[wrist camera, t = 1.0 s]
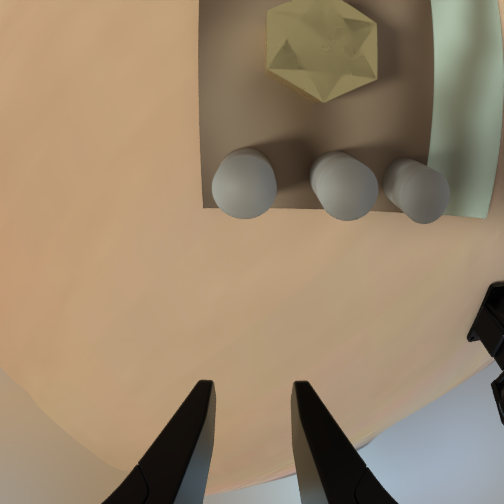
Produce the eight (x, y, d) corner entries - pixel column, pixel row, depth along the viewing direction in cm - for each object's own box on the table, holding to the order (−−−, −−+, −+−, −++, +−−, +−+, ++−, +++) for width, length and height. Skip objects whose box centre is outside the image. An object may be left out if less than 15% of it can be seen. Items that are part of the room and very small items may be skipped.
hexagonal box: (356, 12, 12) (375, -2, 9) (356, 106, 15) (376, 108, 12) (264, 3, 12) (266, -16, 9) (264, 100, 15) (267, 100, 12)
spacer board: (490, -8, 10) (521, -15, 6) (481, 215, 18) (510, 236, 15) (204, -67, 10) (194, -96, 7) (205, 203, 18) (193, 228, 15)
